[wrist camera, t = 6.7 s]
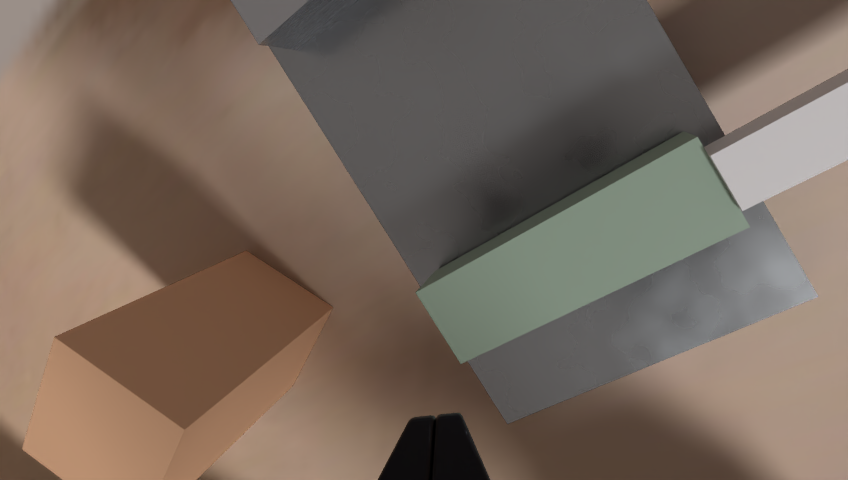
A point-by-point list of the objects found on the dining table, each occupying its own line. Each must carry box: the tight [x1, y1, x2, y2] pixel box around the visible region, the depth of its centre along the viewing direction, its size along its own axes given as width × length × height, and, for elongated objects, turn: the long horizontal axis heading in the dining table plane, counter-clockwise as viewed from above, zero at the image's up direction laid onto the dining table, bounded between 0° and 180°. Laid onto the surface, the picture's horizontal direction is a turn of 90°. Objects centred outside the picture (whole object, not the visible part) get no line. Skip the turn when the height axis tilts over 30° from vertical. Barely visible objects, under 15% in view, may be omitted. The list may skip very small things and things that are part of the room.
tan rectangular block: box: [22, 251, 333, 480], centre depth 22 cm, size 5×5×10 cm
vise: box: [231, 0, 818, 424], centre depth 19 cm, size 22×12×4 cm, turn 33°
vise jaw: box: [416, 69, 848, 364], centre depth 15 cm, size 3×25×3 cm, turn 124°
